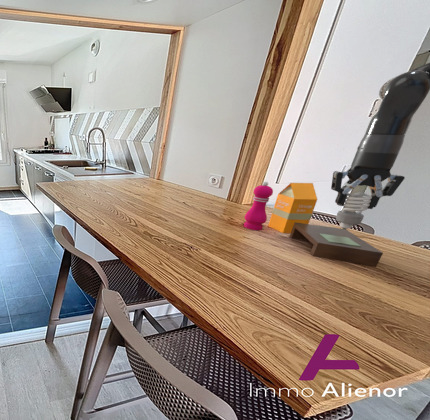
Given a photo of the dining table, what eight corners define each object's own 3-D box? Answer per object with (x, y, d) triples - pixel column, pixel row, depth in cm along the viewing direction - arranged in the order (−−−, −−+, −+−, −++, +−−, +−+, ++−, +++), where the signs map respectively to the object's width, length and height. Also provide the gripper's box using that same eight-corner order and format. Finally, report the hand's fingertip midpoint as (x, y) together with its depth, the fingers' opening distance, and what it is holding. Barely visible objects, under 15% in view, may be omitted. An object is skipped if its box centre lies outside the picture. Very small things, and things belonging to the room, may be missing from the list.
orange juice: (267, 225, 106) (281, 180, 99) (288, 226, 105) (304, 181, 99) (282, 233, 98) (299, 185, 92) (305, 233, 98) (323, 185, 92)
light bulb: (339, 231, 76) (354, 193, 72) (327, 224, 81) (340, 189, 77) (363, 233, 74) (380, 195, 70) (349, 226, 79) (364, 191, 75)
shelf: (339, 243, 89) (345, 228, 87) (374, 270, 73) (383, 252, 71) (289, 236, 96) (294, 221, 94) (311, 259, 79) (318, 242, 77)
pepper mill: (260, 226, 105) (274, 180, 99) (266, 232, 99) (280, 184, 93) (240, 223, 108) (252, 179, 102) (244, 229, 102) (257, 182, 96)
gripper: (349, 150, 69) (327, 206, 75) (427, 153, 63) (397, 214, 69) (335, 148, 76) (316, 200, 81) (405, 151, 70) (379, 206, 75)
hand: (353, 206), depth 75 cm, fingers closed on light bulb, 5 cm apart
